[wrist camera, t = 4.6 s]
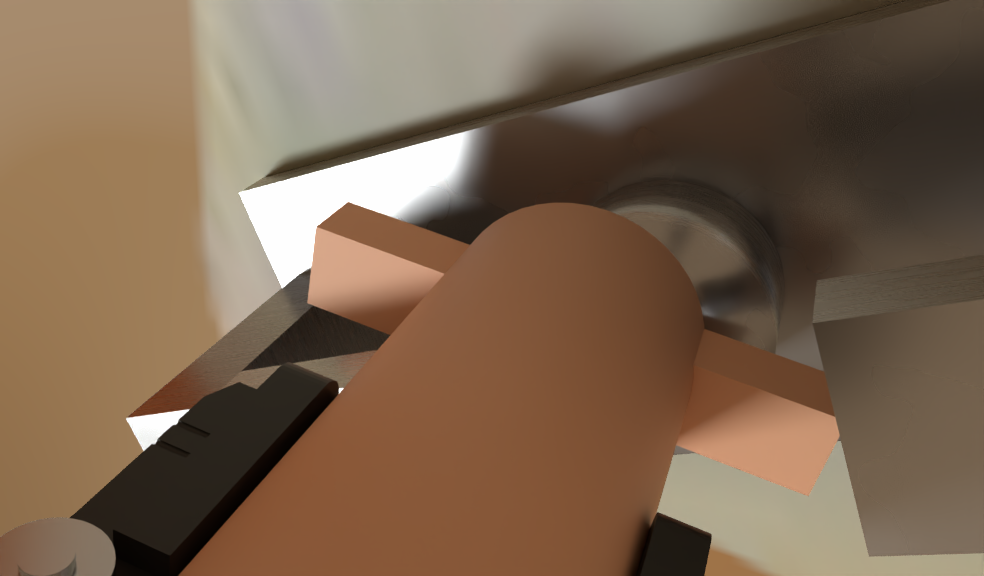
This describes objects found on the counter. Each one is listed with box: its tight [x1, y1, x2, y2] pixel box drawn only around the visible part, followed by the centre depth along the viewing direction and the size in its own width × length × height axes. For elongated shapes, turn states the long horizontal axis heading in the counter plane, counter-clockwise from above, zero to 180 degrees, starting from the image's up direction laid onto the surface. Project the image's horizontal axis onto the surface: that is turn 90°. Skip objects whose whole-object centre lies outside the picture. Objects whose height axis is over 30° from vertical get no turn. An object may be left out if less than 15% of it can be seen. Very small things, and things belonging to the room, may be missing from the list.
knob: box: [178, 202, 840, 576], centre depth 11 cm, size 5×9×12 cm, turn 78°
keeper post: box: [126, 0, 984, 556], centre depth 16 cm, size 8×18×7 cm, turn 110°
